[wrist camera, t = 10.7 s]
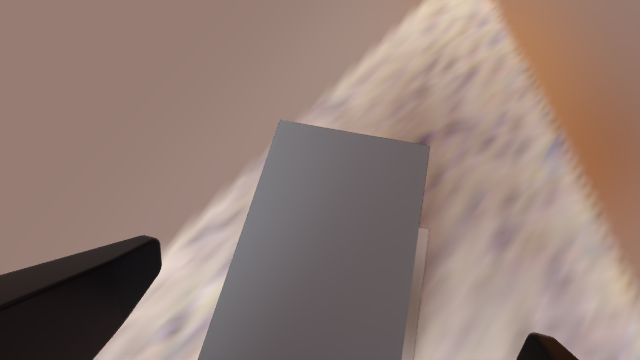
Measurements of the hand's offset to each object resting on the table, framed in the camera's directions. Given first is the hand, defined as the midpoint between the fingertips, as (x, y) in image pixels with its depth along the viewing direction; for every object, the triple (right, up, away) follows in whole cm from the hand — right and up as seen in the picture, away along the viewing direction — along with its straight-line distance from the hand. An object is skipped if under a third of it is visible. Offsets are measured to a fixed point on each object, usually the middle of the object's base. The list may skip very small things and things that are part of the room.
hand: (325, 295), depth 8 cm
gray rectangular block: (+1, -3, +8) cm, 9 cm away
